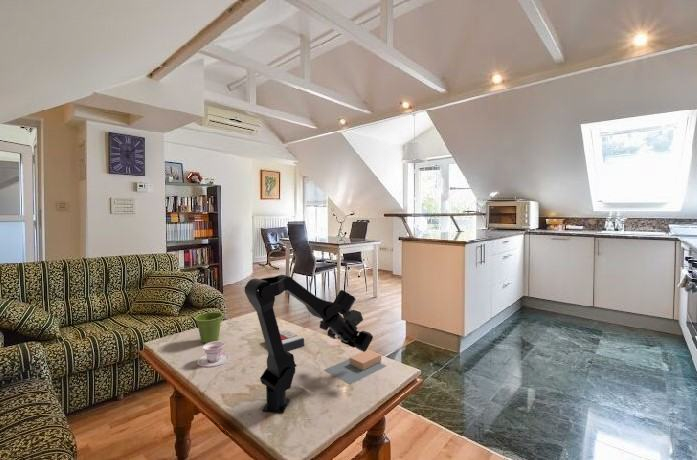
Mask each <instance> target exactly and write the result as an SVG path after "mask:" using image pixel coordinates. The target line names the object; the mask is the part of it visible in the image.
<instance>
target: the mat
mask: <svg viewBox="0 0 697 460" xmlns="http://www.w3.org/2000/svg"><path fill="white" fill-rule="evenodd" d="M386 367H387V365H385V364H383V363H381V362H380V363H378V364H376V365H374V366H371V367H369V368H367V369H365V370H361V369H358V368H356V367H354V366H352V365H350V364H349V358H348V359H345V360H343V361H341V362H339V363H337V364H334V365H332V366H329V367H327V368H325V369H324V371H325V372H327V373H329V374H331V375H332V376H333V377H336V378H338V379H340V380H342V381H343V382H345V383H347V384H349V385H352V384H354V383H356V382H358V381H360V380H362V379H364V378H366V377H368V376H370V375H372V374H374V373H376V372H378V371H380V370H382V369H384V368H386Z"/></svg>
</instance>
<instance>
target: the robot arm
mask: <svg viewBox="0 0 697 460" xmlns="http://www.w3.org/2000/svg"><path fill="white" fill-rule="evenodd" d="M284 292H286V293H288V295H290V296H292V297H293V298H295V300H297V301H299V302H300V303H302V304H303V305H304V306H305V307H306V309H307V311H308V312H309V314H311V315H312V316H313V317H315V318H319V319H322V320H320V321H319V328H320V329H322V330H324V331H327V336H328V337H329V338H330V339H333V340H336V338H337V339H339V340H340V343H342V344H344V345H347V346H350V347H351V348H356V349H357V350H359V351H360V352H365V351H366V350H368V348H369V346H370V344H371V342H372V341H373V339H374V336H373V334H372V333H370V332H368V331H365V330H361V331H359V330H358V326H359V324H360V323H361V322H363V320H364V318H363V314H362V312H361V311H359V310H357V309H356V310H355V309H352V307H353V305H354V303H355V301H356V300H357V299H356V297H355V296H354V295H352V294H351V293H348V291H347V292H346V290H343V289H340V290H339V292H338V294H337V295H336V297H335V299H334V300H333V301H328V300H325V299H323V298H320V297H318V296H316V295H315V294H313V293H312V292H310V291H309V290H308V289H307V288H306V287H304V286H303V285H302V284H300V283H299V282H297V281H296V280H295V279H294V278H293V277H292V276H290V275H286V274H280V275H278V274H277V275H275V276H270V277H262V278H251V279H250V280H248V281H247V283H246V285H245V286H244V294H245V295H246V297H247V299H248V302H249V303H250V305H251V306H252V308H254V311H255V312H256V315H257V318H258V322H259V324H260V328H261V332H262V335H263V339H264V343H265V346H266V349H267V350H266V351H267V358H266V368H265V370H264V372H263V373H262V374H261V376H260V378H259V380H260V382H261V384H262V385H264V386H265V391H266V392H265V393H266V395H265V396H266V403H265V404H264V406H263V407H262V412H264V413H265V412H266V413H267V412H268V413H278V414H279V413H280V414H283V413H285V410H286V409H287V407H288V406H289V404H290V402H291V399H290V398H287V391H288V390H290V389H291V387H292V384H293V383H292V382H293V379H294V376H295V374H296V368H297V364H296V363H295V357H294V354H293V353H291V352H290V351H288V352H287V351H286V350H284V347H283V343H282V339H281V336H280V332H281V331H280V328H279V325H278V321H277V317H276V314H275V310H274V305H275V300H276V297H277V296H279V295H281V294H282V293H284ZM336 336H337V337H336Z"/></svg>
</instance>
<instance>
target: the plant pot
mask: <svg viewBox="0 0 697 460" xmlns="http://www.w3.org/2000/svg"><path fill="white" fill-rule="evenodd" d="M223 317H224V314H223V312H219V311H212V312H211V311H209V312H203V313H200V314H197V315H196V316H194V321H195V322H196V325H197V328H198V334H199V338H200V342H201V343H204V344H207V343H210V342H214V341H219V339H220V330H221V322H222V318H223Z"/></svg>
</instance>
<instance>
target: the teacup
mask: <svg viewBox="0 0 697 460" xmlns="http://www.w3.org/2000/svg"><path fill="white" fill-rule="evenodd" d="M225 344H226V343H225V342H224V341H223V340H217V341H214V342H210V343H204V345H203V346H202V349H203V350H204V352H205V355H203V356H202V357H200V358H198V360H197V361H196V362H197V365H198V366H200V367H204V368H213V367H218V366H220V365H223V364H225V363H227V362H229V361H230V360H231V356H230V354H229V353H226V352H222V351H223V349H224V347H225ZM208 361H209V362H208Z"/></svg>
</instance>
